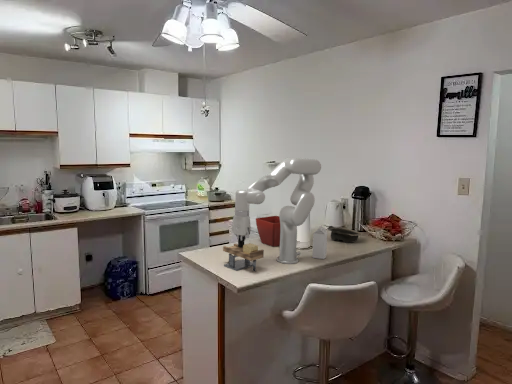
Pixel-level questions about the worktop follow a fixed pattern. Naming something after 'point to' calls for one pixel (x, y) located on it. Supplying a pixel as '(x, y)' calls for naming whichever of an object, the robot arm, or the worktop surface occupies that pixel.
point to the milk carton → (319, 243)
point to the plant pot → (269, 230)
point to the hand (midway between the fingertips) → (241, 247)
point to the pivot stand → (239, 263)
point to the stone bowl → (343, 234)
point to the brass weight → (249, 248)
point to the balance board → (239, 252)
